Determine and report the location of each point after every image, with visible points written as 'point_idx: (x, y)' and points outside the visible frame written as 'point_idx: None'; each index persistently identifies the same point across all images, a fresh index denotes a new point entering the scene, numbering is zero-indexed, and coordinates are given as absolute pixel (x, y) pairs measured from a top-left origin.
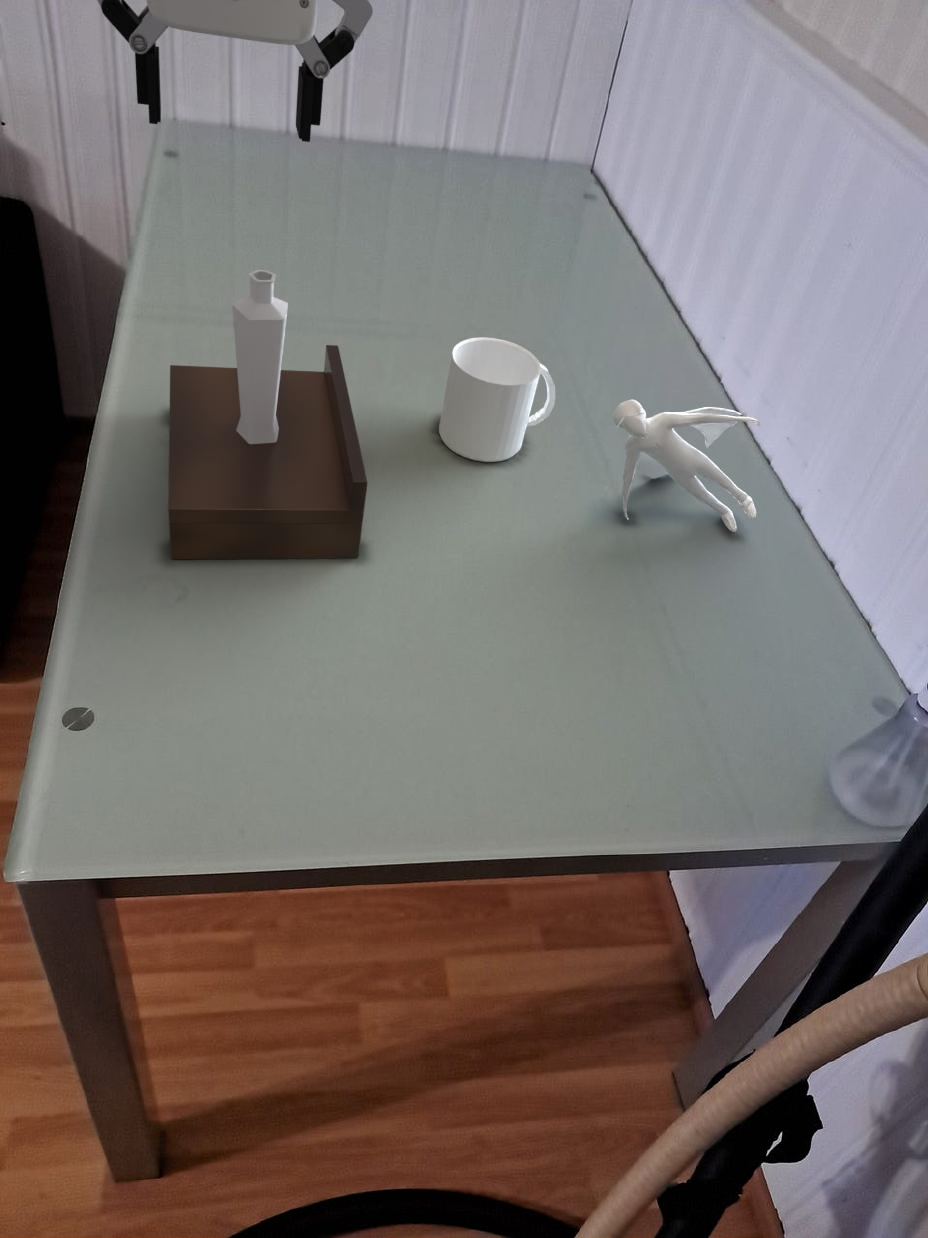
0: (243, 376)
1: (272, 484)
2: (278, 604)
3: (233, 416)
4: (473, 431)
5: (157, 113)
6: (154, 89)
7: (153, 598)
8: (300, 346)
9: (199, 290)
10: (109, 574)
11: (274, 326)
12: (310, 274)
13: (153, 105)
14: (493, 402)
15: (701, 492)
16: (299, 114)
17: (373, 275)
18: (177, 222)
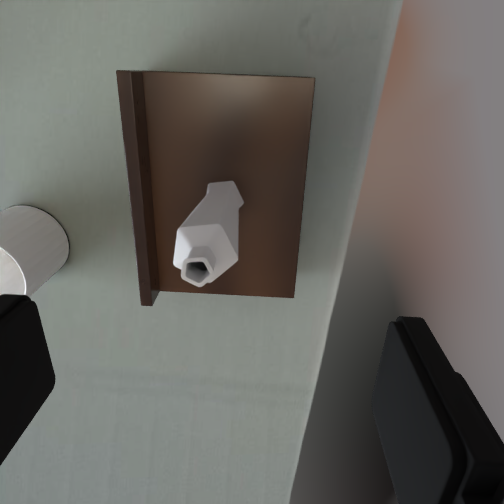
0: (232, 213)
1: (215, 116)
2: (222, 6)
3: (244, 223)
4: (27, 220)
5: (405, 331)
6: (436, 372)
7: (328, 22)
8: (183, 359)
9: (258, 423)
10: (361, 59)
11: (191, 223)
12: (170, 445)
13: (424, 340)
14: None
15: None
16: (10, 358)
17: (120, 446)
18: (268, 499)
